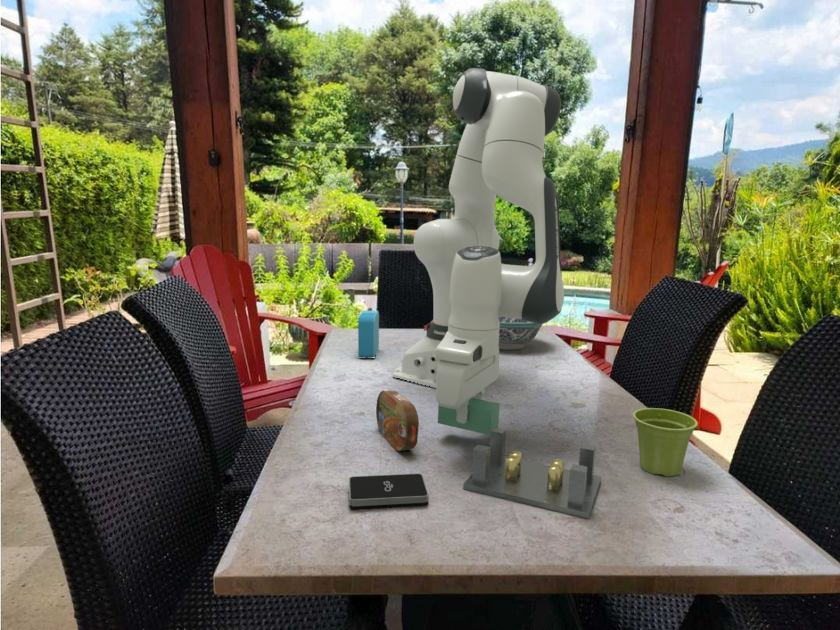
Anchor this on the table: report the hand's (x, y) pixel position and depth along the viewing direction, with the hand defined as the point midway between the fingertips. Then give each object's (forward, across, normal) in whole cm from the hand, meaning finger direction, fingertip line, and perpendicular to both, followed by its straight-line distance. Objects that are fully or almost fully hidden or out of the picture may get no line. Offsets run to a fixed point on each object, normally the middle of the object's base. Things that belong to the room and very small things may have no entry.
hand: (468, 416), depth 98 cm
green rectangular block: (+2, 0, 0) cm, 2 cm away
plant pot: (+4, -5, +32) cm, 32 cm away
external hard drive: (+5, +24, -2) cm, 25 cm away
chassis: (+4, +10, +15) cm, 19 cm away
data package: (+6, -43, -49) cm, 66 cm away
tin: (+5, +6, -11) cm, 14 cm away
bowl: (+6, -75, -18) cm, 77 cm away
